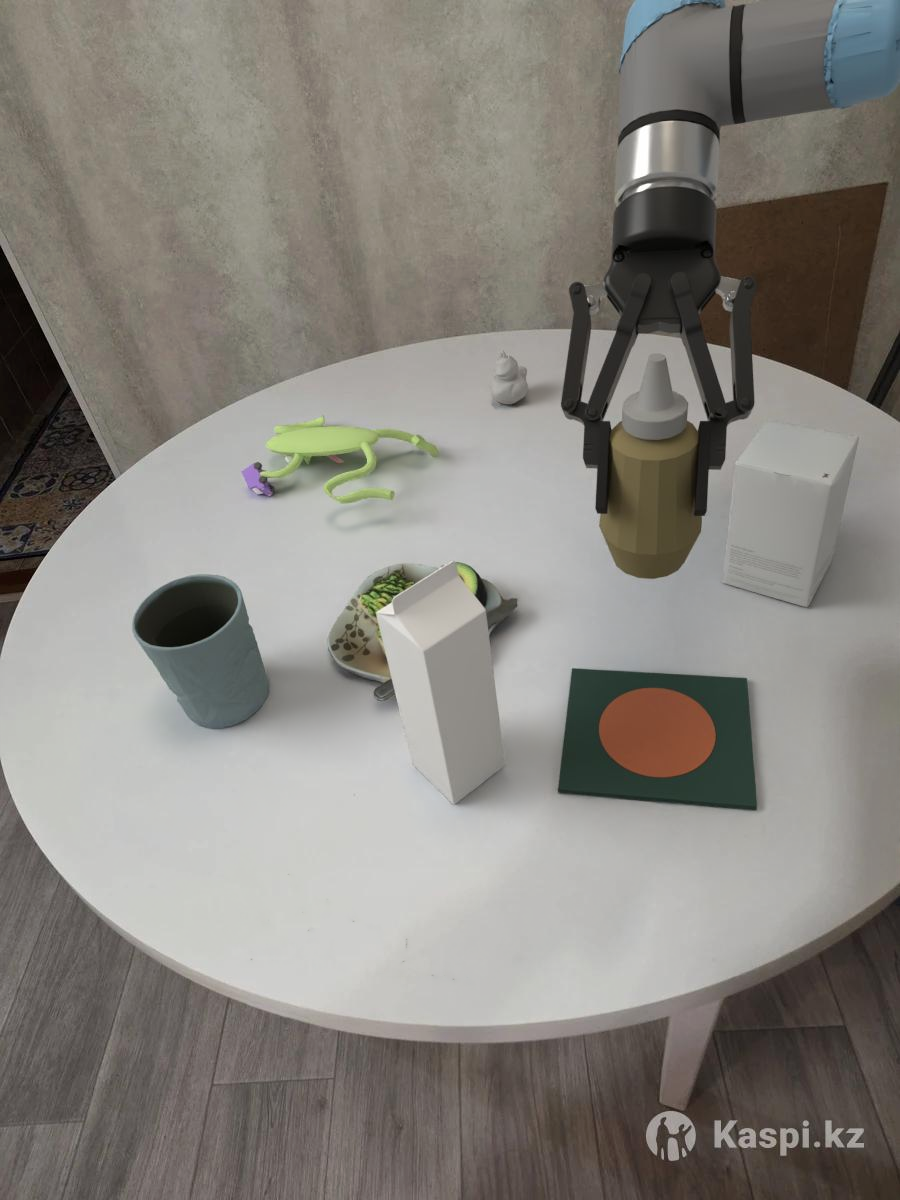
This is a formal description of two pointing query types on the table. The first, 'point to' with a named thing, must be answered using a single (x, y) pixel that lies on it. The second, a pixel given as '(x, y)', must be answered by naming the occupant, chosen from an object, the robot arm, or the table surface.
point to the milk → (444, 681)
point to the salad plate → (357, 626)
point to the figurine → (327, 455)
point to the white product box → (787, 510)
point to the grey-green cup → (204, 648)
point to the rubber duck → (508, 380)
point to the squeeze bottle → (652, 479)
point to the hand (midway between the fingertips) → (650, 511)
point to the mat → (659, 738)
